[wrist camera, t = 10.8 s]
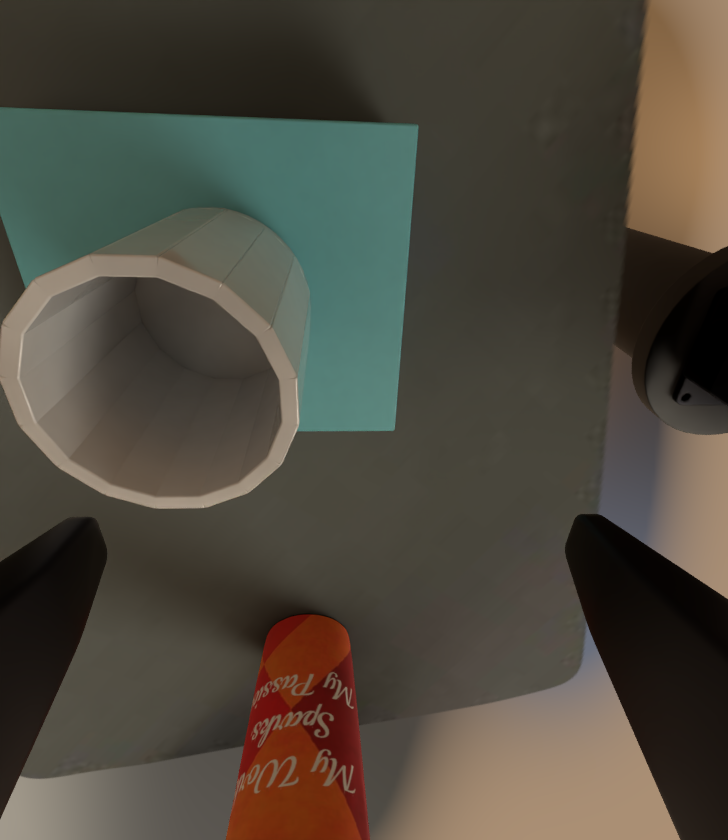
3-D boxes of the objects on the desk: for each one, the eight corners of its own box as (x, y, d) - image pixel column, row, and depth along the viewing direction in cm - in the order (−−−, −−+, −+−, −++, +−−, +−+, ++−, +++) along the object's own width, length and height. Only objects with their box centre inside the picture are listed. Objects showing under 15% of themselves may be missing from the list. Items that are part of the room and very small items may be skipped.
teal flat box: (404, 126, 16) (419, 123, 13) (386, 393, 22) (394, 431, 19) (28, 111, 15) (-40, 105, 13) (108, 393, 21) (74, 433, 18)
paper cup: (355, 594, 29) (371, 914, 17) (372, 664, 33) (395, 963, 21) (232, 613, 29) (164, 941, 17) (264, 680, 33) (227, 984, 21)
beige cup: (308, 209, 14) (291, 258, 8) (313, 382, 18) (303, 507, 12) (109, 203, 14) (-55, 251, 8) (150, 381, 17) (52, 510, 11)
